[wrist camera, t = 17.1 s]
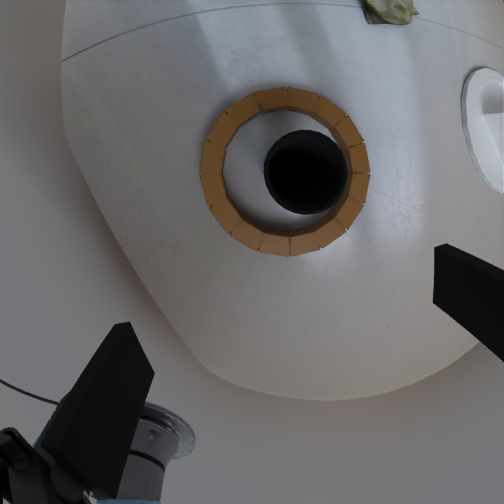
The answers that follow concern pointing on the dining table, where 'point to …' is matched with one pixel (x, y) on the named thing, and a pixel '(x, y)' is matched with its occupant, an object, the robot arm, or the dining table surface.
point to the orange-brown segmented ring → (343, 208)
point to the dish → (485, 124)
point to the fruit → (389, 11)
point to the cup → (305, 172)
